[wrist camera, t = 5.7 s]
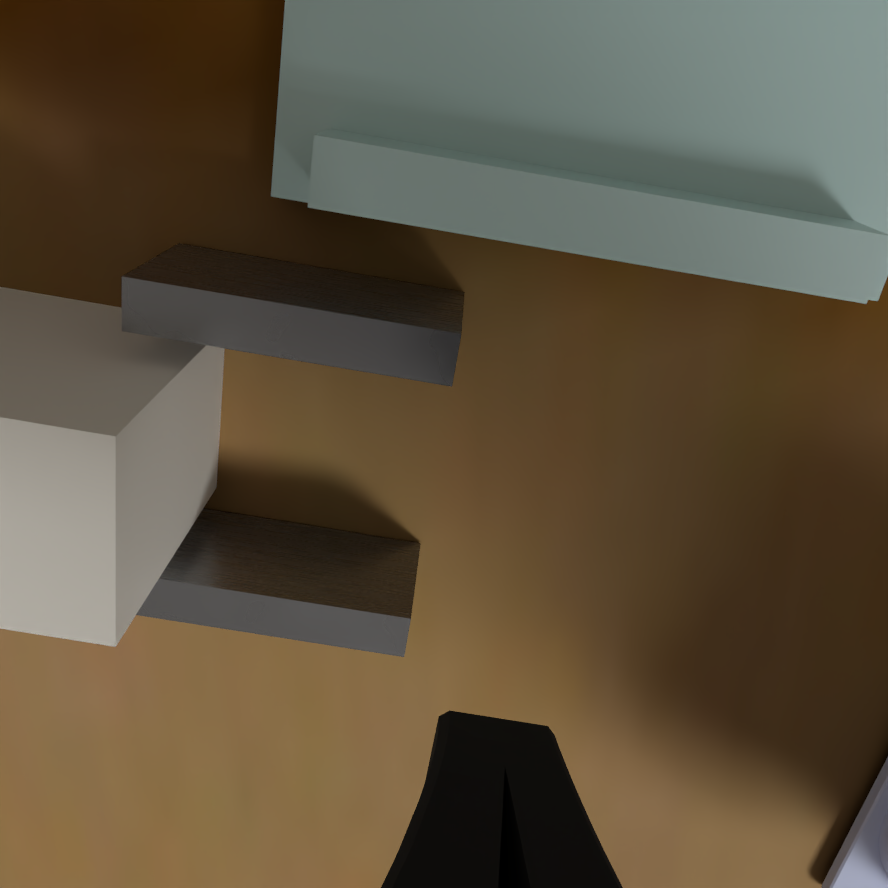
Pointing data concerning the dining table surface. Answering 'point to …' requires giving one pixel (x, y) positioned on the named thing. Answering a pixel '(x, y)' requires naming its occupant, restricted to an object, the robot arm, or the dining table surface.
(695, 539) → the dining table surface
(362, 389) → the dining table surface
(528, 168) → the cradle
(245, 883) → the dining table surface
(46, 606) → the white block
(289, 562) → the channel
